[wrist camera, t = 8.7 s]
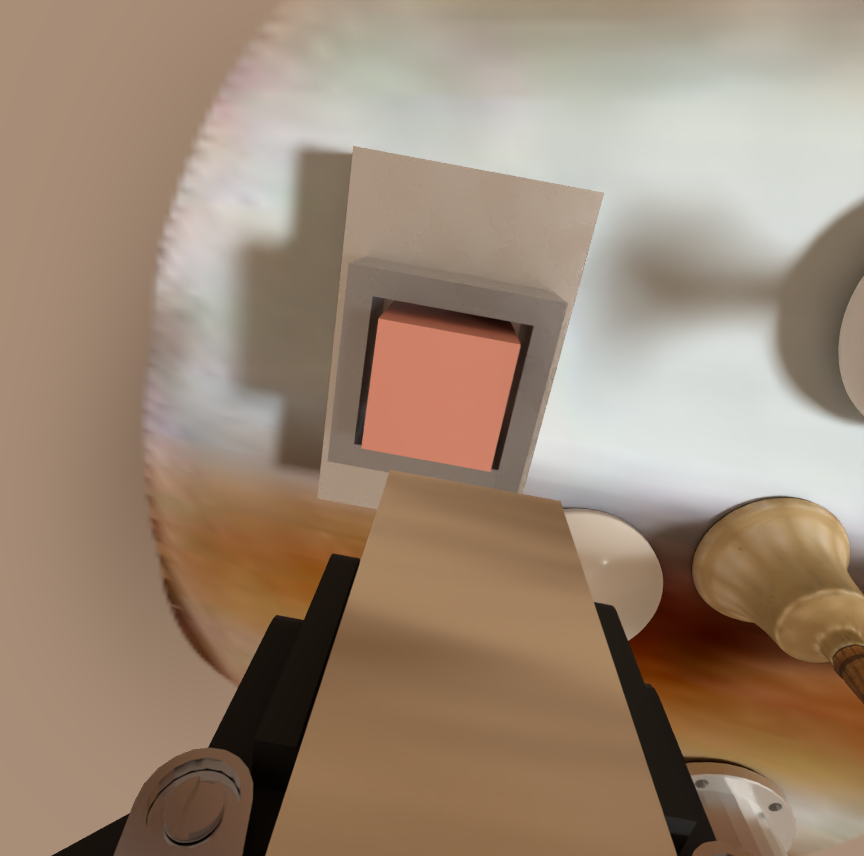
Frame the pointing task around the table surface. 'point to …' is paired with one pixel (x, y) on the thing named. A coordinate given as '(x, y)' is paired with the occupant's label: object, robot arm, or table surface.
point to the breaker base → (450, 298)
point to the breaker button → (439, 385)
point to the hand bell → (787, 581)
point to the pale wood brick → (470, 696)
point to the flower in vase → (853, 348)
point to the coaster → (617, 566)
